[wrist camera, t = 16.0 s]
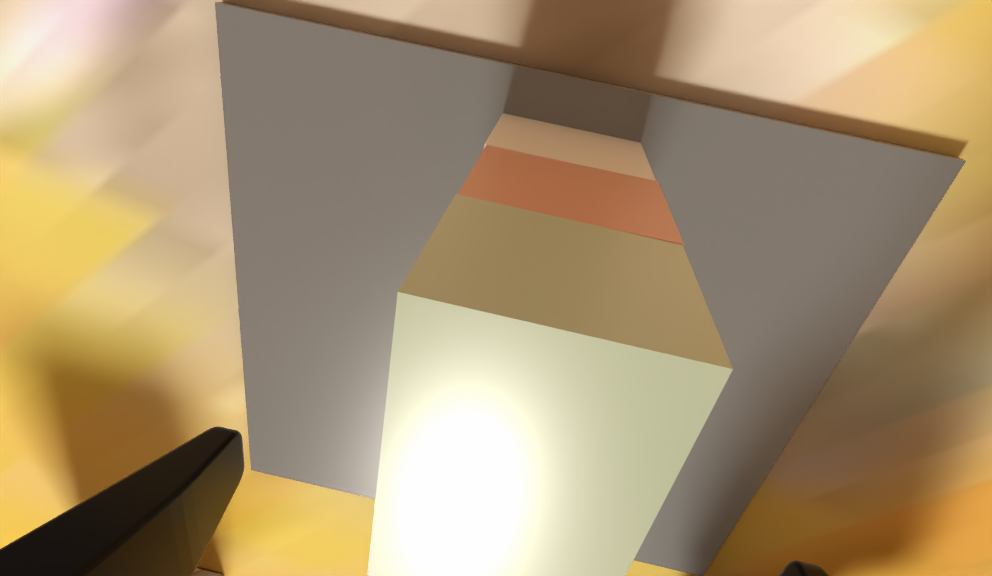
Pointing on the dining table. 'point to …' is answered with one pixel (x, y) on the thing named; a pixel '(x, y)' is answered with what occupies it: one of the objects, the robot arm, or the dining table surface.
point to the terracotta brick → (572, 192)
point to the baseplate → (412, 154)
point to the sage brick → (538, 396)
